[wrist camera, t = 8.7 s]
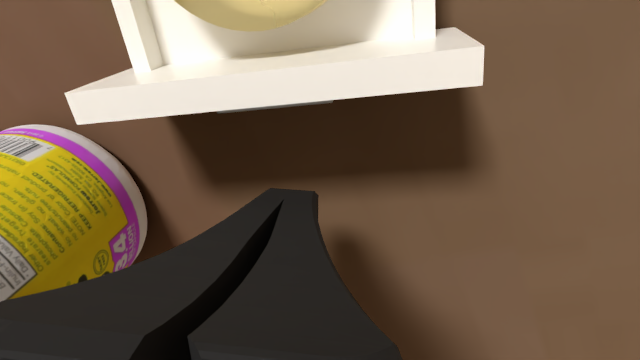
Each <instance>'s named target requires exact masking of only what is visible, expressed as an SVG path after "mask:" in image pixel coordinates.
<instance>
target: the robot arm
mask: <svg viewBox="0 0 640 360" xmlns="http://www.w3.org/2000/svg"><path fill="white" fill-rule="evenodd" d="M0 360H402V358H401V355H400V352H399V350H398V347H397V346H396V345H395V344H394V343H393V342H392V341H391V340H390V339H389V338H388V337H387V336H386V335H385V334H384V333H383V332H382V331H381V330H380V329H379V328H378V327H377V326H376V325H375V324H374V323H373V322H372V320H371V319H370V318H369V317H368V316H367V314H366V313H365V312H364V311H363V310H362V308H361V307H360V306H359V304H358V303H357V302H356V300H355V299H354V297H353V296H352V294H351V293H350V292H349V290H348V289H347V287H346V286H345V284H344V283H343V281H342V279H341V277H340V276H339V274H338V272H337V270H336V268H335V266H334V265H333V263H332V260H331V258H330V256H329V254H328V251H327V249H326V246H325V243H324V241H323V238H322V235H321V231H320V227H319V223H318V195H317V194H316V193H315V191H303V190H289V189H274V188H270V189H268V190H267V191H265V192H264V193H262V194H261V195H259V196H258V197H257V198H255V199H254V200H252V201H251V202H250V203H248V204H247V205H245V206H244V207H242V208H241V209H239V210H238V211H237V212H235V213H234V214H232V215H231V216H229V217H228V218H226V219H225V220H223V221H221V222H220V223H218V224H216V225H215V226H213V227H211V228H210V229H208V230H207V231H205V232H203V233H202V234H200V235H198V236H196V237H194V238H193V239H191V240H189V241H187V242H185V243H183V244H181V245H179V246H177V247H175V248H173V249H170V250H168V251H166V252H164V253H162V254H160V255H157V256H154V257H152V258H149V259H147V260H144V261H142V262H139V263H137V264H134V265H132V266H129V267H127V268H124V269H121V270H118V271H115V272H112V273H109V274H106V275H103V276H100V277H97V278H93V279H90V280H86V281H83V282H80V283H76V284H72V285H69V286H65V287H61V288H57V289H53V290H48V291H44V292H40V293H35V294H31V295H27V296H22V297H18V298H13V299H8V300H4V301H1V302H0Z"/></svg>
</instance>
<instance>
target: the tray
mask: <svg viewBox="0 0 640 360" xmlns="http://www.w3.org/2000/svg"><path fill="white" fill-rule="evenodd" d="M112 4H113V7H114V10H115V13H116V16H117V19H118V22H119V25H120V29H121V32H122V35H123V38H124V41H125V44H126V47H127V50H128V53H129V57H130V60H131V63H132V66H133V68H131V69H128V70H126V71H123V72H120V73H117V74H115V75H112V76H109V77H107V78H104V79H101V80H98V81H96V82H93V83H90V84H88V85H85V86H82V87H79V88H77V89H74V90H71V91H69V92H66V93H65V96H66V98H67V101H68V103H69V106H70V108H71V111H72V113H73V116H74V118H75V121H76V123H77V125H80V124H90V123H101V122H111V121H121V120H132V119H142V118H152V117H163V116H173V115H183V114H193V113H204V112H214V111H217V114H220V113H230V112H241V111H251V110H262V109H272V108H282V107H293V106H303V105H314V104H324V103H333V100H338V99H348V98H358V97H369V96H379V95H389V94H400V93H410V92H420V91H431V90H441V89H451V88H462V87H472V86H482V85H483V65H484V45H482V44H481V43H479V42H477V41H476V40H474V39H473V38H471V37H469V36H468V35H466V34H465V33H463V32H462V31H460V30H458V29H457V28H455V27H452V28H444V29H435V0H327V1H326V2H325V3H324V4H323V5H322V6H320V7H319V8H317V9H316V10H314V11H313V12H311V13H309V14H307V15H305V16H304V17H302V18H300V19H298V20H296V21H294V22H292V23H290V24H287V25H284V26H281V27H278V28H275V29H270V30H264V31H249V32H247V31H237V30H231V29H227V28H223V27H219V26H216V25H214V24H211V23H208V22H206V21H204V20H202V19H200V18H198V17H197V16H195V15H193V14H191V13H190V12H188V11H187V10H186V9H184V8H183V7H181V6H180V5H179V4H178V3H177V2H175V1H174V0H112Z"/></svg>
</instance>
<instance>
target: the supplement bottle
mask: <svg viewBox="0 0 640 360" xmlns="http://www.w3.org/2000/svg"><path fill="white" fill-rule="evenodd" d="M146 234H147V213H146V208H145V204H144V200H143V197H142V195H141V193H140V190H139V188H138V186H137V185H136V183H135V181H134V180H133V178H132V177H131V175H130V174H129V172H128V171H127V170H126V169H125V167H124V166H123V165H122V164H121V163H120V162H119V161H118V160H117V159H116V158H115V157H114V156H113V155H112V154H110V153H109V152H108V151H106V150H105V149H104V148H102V147H101V146H100V145H98V144H96V143H95V142H93V141H91V140H90V139H88V138H86V137H84V136H82V135H80V134H78V133H75V132H73V131H70V130H67V129H64V128H60V127H56V126H50V125H23V126H17V127H13V128H9V129H6V130H4V131H1V132H0V302H1V301H4V300H8V299H13V298H18V297H22V296H27V295H31V294H35V293H40V292H44V291H48V290H53V289H57V288H61V287H65V286H69V285H72V284H76V283H80V282H83V281H86V280H90V279H93V278H97V277H100V276H103V275H106V274H109V273H112V272H115V271H118V270H121V269H124V268H127V267H129V266H130V265H131V264H132V263H133V262H134V260H135V259H136V258H137V256H138V255H139V253H140V251H141V249H142V247H143V244H144V241H145V238H146Z"/></svg>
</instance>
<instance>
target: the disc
mask: <svg viewBox="0 0 640 360" xmlns="http://www.w3.org/2000/svg"><path fill="white" fill-rule="evenodd" d="M174 1H175V2H177V3H178V4H179V5H180V6H181V7H183V8H184V9H186V10H187V11H188V12H190V13H191V14H193V15H195V16H197V17H198V18H200V19H202V20H204V21H206V22H208V23H211V24H214V25H216V26H219V27H223V28H227V29H231V30H237V31H247V32H249V31H264V30H270V29H275V28H278V27H281V26H284V25H287V24H290V23H292V22H294V21H296V20H298V19H300V18H302V17H304V16H305V15H307V14H309V13H311V12H313V11H314V10H316V9H317V8H319V7H320V6H322V5H323V4H324V3H325V2H326V1H327V0H174Z"/></svg>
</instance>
